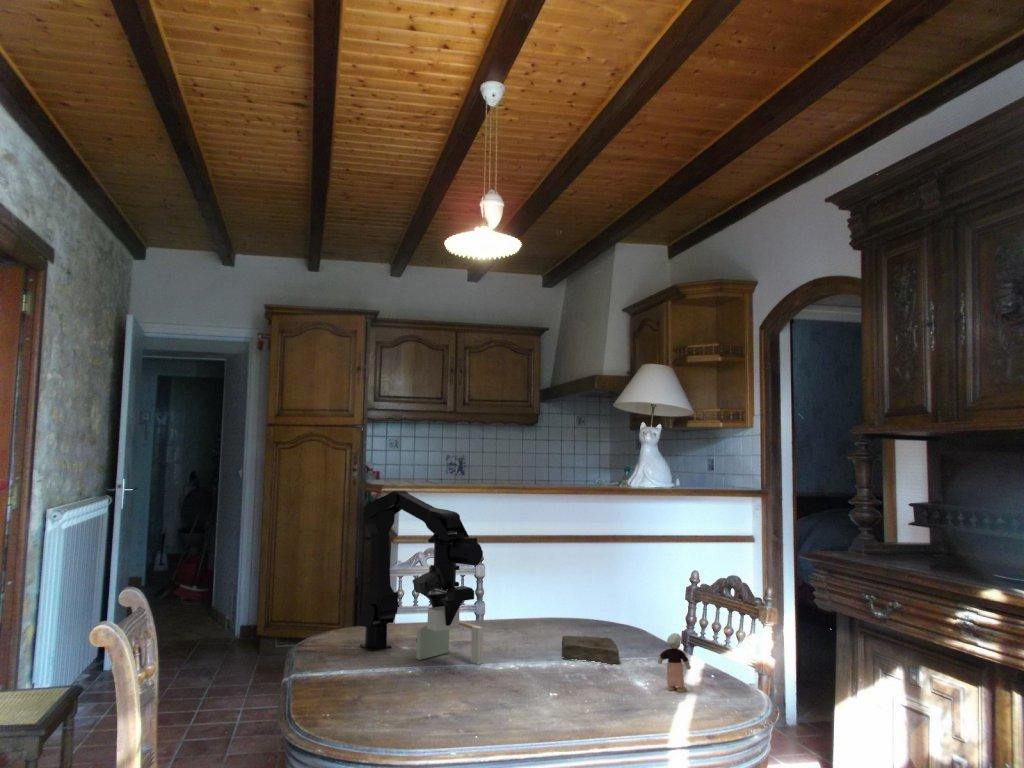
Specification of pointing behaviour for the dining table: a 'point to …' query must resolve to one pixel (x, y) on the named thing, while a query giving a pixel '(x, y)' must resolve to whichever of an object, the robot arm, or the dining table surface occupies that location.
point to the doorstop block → (440, 619)
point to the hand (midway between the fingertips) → (443, 623)
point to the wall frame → (474, 642)
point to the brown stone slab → (590, 649)
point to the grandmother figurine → (674, 663)
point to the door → (431, 642)
